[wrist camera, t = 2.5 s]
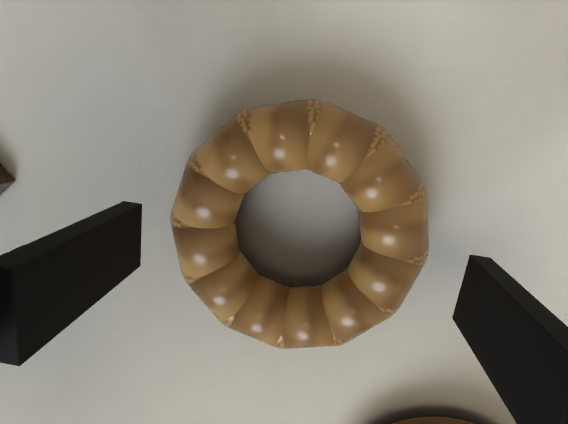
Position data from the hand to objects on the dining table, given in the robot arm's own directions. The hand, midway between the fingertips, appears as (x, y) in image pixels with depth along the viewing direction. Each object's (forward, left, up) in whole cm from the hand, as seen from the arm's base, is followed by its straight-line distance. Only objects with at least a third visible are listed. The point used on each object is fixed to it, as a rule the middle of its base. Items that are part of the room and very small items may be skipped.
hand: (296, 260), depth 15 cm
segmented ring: (0, 0, -3) cm, 3 cm away
